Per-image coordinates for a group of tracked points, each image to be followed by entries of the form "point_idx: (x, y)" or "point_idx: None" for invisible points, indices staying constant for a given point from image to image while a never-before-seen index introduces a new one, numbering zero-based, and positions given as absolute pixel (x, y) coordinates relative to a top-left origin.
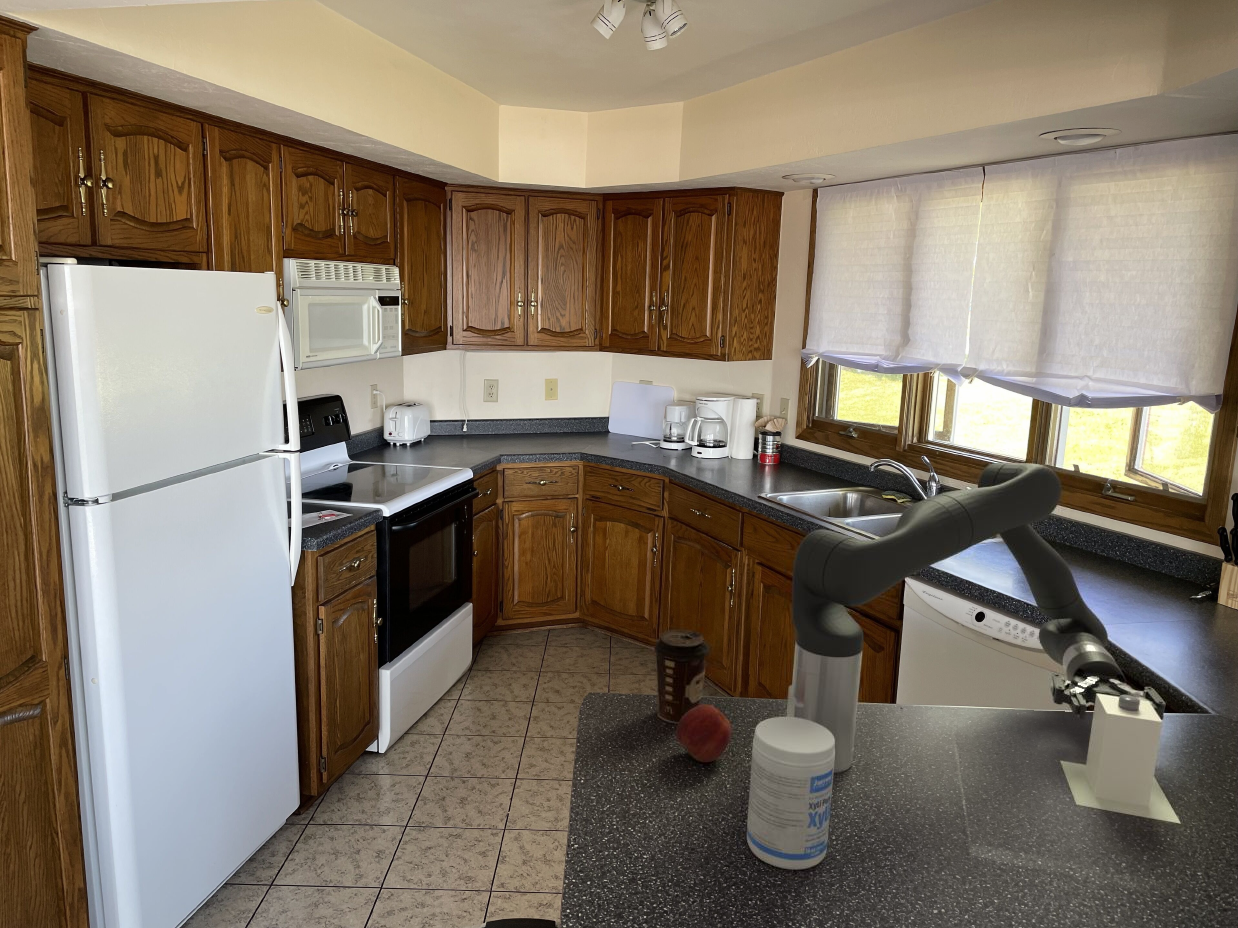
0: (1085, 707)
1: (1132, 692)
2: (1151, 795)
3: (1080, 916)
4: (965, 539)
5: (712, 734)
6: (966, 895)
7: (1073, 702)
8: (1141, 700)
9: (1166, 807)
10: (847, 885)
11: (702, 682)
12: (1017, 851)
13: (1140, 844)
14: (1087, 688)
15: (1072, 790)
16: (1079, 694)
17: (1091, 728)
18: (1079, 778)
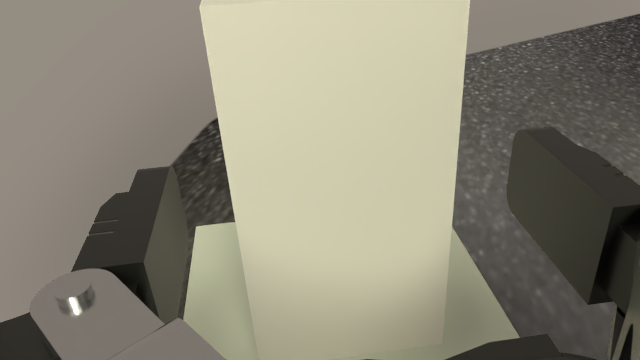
0: (517, 135)
1: (171, 333)
2: (229, 310)
3: None
4: None
5: None
6: (513, 59)
7: (603, 160)
8: (239, 4)
9: (205, 271)
10: (623, 38)
11: None
12: (494, 110)
13: None
14: (636, 305)
15: (456, 240)
16: (637, 238)
17: (455, 172)
18: (452, 305)
